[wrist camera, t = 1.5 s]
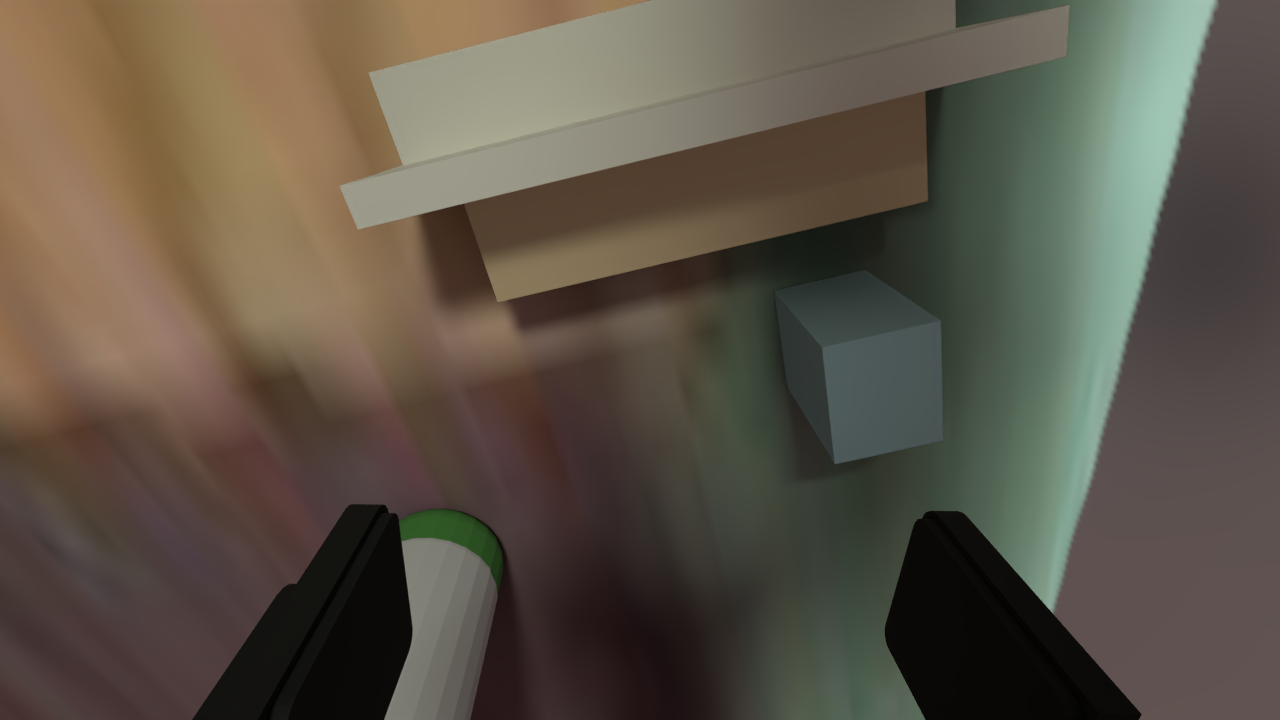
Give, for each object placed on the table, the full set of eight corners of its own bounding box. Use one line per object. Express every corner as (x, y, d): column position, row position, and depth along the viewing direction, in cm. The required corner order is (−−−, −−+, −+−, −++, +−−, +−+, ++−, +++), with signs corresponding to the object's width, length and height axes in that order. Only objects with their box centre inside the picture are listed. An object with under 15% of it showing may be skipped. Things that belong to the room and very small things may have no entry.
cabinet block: (773, 290, 32) (822, 347, 25) (865, 269, 32) (941, 320, 25) (789, 404, 35) (837, 485, 28) (873, 386, 35) (943, 462, 28)
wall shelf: (375, 73, 27) (288, 64, 20) (945, -73, 26) (1078, -140, 18) (455, 291, 31) (409, 350, 24) (948, 174, 30) (1057, 199, 23)
